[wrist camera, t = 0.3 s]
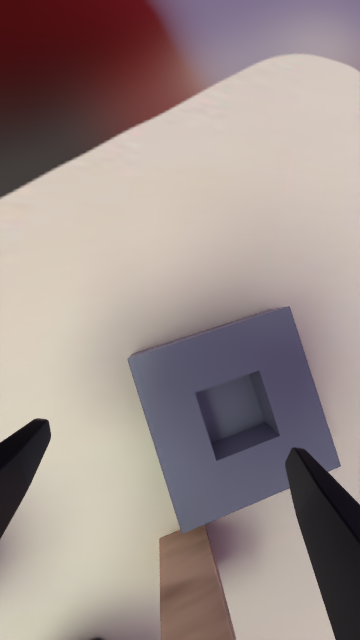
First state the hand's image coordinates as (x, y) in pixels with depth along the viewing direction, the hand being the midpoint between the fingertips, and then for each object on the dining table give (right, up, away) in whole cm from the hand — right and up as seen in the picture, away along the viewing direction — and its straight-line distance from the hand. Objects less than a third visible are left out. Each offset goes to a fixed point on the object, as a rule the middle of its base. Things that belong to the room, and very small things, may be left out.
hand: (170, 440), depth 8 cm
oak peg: (+1, -18, +14) cm, 23 cm away
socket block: (+5, -4, +15) cm, 16 cm away
